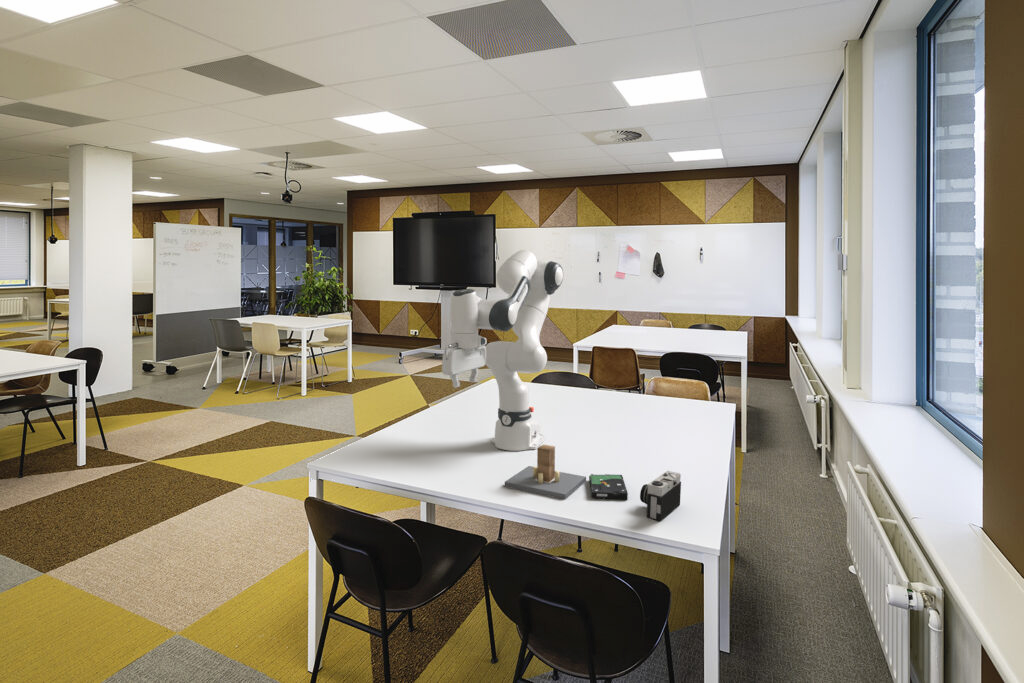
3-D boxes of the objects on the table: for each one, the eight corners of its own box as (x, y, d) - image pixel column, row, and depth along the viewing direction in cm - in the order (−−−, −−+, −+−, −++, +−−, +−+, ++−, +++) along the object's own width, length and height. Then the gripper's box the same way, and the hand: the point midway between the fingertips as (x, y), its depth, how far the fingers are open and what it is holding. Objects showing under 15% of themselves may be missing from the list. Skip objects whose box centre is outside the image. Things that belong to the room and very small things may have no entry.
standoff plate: (528, 470, 183) (528, 457, 182) (586, 481, 173) (586, 467, 173) (504, 486, 169) (504, 472, 168) (565, 499, 159) (565, 484, 159)
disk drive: (628, 502, 159) (621, 482, 174) (628, 493, 159) (622, 473, 173) (591, 501, 160) (588, 481, 174) (591, 492, 159) (588, 473, 174)
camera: (656, 497, 161) (659, 464, 159) (685, 508, 154) (688, 473, 153) (629, 511, 151) (631, 476, 150) (659, 524, 145) (661, 487, 143)
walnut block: (542, 475, 174) (543, 444, 172) (554, 477, 172) (554, 446, 171) (537, 479, 170) (537, 448, 169) (549, 482, 168) (549, 450, 167)
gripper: (453, 345, 165) (454, 391, 166) (489, 338, 183) (489, 380, 184) (436, 344, 168) (437, 389, 169) (473, 337, 186) (473, 378, 187)
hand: (464, 384), depth 177 cm, fingers open, 8 cm apart
